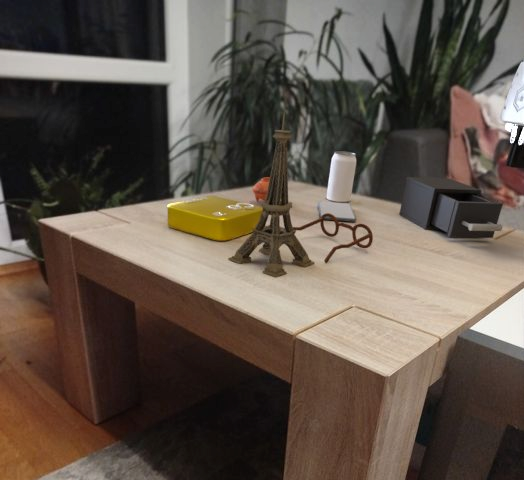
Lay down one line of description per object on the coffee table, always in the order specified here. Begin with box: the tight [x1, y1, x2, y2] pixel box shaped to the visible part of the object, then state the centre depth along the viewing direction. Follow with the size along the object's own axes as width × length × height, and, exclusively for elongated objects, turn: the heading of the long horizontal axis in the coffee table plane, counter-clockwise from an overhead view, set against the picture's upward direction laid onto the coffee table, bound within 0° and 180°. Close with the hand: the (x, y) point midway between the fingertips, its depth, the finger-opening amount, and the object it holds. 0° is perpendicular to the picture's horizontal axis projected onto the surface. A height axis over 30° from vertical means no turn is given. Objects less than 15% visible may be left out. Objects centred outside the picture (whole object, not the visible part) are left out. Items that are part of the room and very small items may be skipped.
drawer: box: [430, 192, 504, 239], centre depth 109 cm, size 17×10×7 cm, turn 12°
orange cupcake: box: [252, 176, 274, 203], centre depth 124 cm, size 8×8×7 cm
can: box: [326, 150, 357, 203], centre depth 133 cm, size 6×6×12 cm
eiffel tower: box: [227, 100, 316, 278], centre depth 80 cm, size 11×11×25 cm
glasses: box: [293, 213, 374, 264], centre depth 95 cm, size 13×13×5 cm
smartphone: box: [317, 200, 357, 223], centre depth 121 cm, size 8×1×15 cm
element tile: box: [166, 195, 263, 242], centre depth 102 cm, size 15×15×5 cm
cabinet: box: [399, 176, 482, 231], centre depth 119 cm, size 14×12×9 cm
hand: (515, 166), depth 94 cm, fingers closed
